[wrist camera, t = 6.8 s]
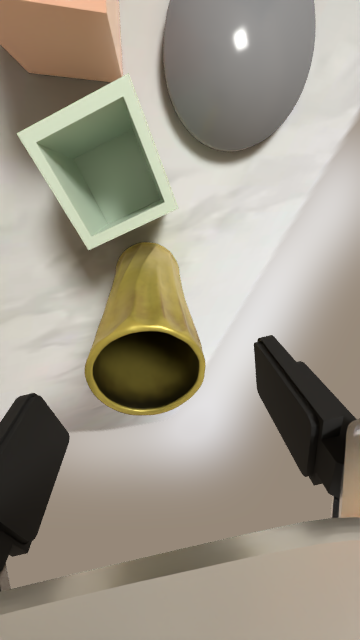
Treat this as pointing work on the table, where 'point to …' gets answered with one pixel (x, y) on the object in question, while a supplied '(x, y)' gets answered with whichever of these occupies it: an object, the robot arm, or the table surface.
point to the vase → (145, 337)
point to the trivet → (236, 66)
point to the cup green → (102, 163)
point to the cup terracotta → (64, 37)
